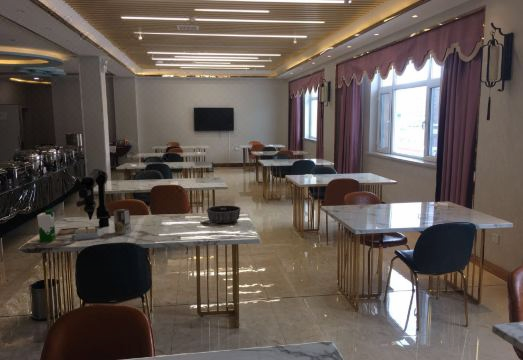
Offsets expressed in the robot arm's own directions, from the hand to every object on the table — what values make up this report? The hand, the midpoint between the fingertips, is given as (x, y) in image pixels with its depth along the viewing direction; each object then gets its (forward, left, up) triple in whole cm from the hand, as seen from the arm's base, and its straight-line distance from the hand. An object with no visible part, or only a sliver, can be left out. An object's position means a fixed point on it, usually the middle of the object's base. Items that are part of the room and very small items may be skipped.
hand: (90, 218), depth 294 cm
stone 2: (0, 0, -12) cm, 12 cm away
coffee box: (-20, -3, -13) cm, 24 cm away
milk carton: (+27, +2, -13) cm, 30 cm away
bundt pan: (-94, -13, -13) cm, 96 cm away
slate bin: (+3, 0, -12) cm, 13 cm away
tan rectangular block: (+6, 0, -12) cm, 14 cm away
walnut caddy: (+13, -16, -12) cm, 24 cm away
